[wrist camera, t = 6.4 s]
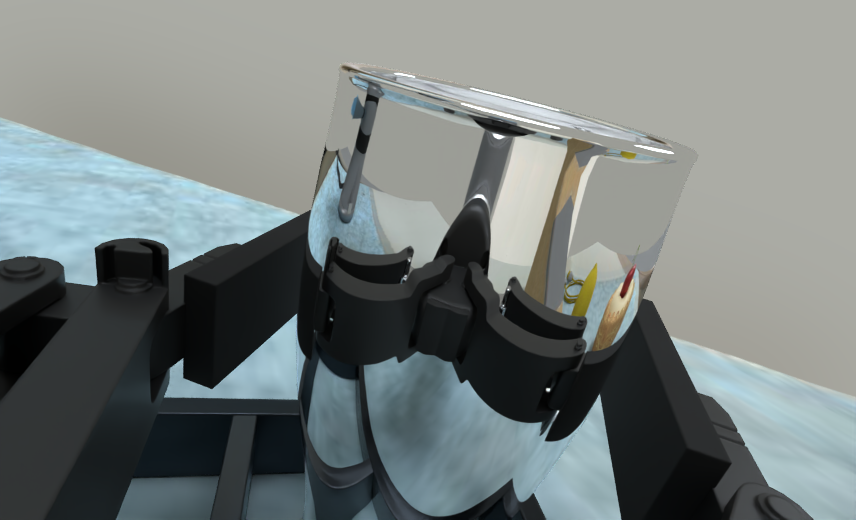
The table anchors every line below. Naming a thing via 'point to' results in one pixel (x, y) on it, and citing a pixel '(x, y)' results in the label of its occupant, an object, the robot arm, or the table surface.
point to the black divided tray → (234, 447)
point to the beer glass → (465, 291)
